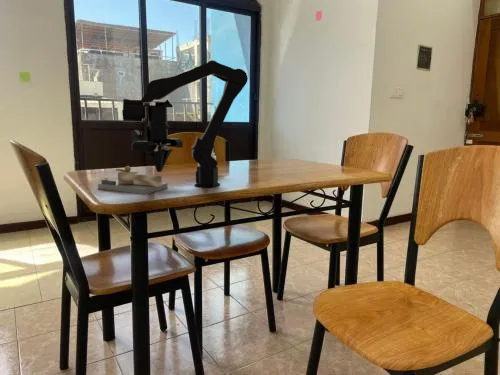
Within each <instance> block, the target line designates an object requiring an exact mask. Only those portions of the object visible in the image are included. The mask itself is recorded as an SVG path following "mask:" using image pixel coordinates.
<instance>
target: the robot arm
mask: <svg viewBox="0 0 500 375" xmlns="http://www.w3.org/2000/svg"><path fill="white" fill-rule="evenodd" d="M210 76H213V77H215V78H217V79H219V80H220V81H222V82H225V83H224V87H223V91H222V95H221V97H220V100H219V101H218V104H217V106H216V108H215V110H214V112H213V114H212V116H211V118H210V120H209V123H208V125H207V126H206V128H205V131H204V132H203V134H202V136H201V137H198V136H196V137H195V140H194V143H193V144H192V146H191V147H190V148H191V149H192V150H191V155H192V158H193V160H194V162H196V163H197V162H198V163H199V165H200V166H198V167H197V166H196V170H195V184H194V185H193V186H195V187H203V188H214V187H217V186H219V185H221V182H219V167H218V163H219V162H218V161H217V159H216V160H215V159H214V158H213V157H212V156H211V154H212V151H213V147H214V146H215V141H216V137H217V136H218V134H219V132H220V129H221V127H222V125H223V124H224V122H225V119H226V117H227V115H228V114H229V110H230V109H231V106H232V104H233V103H234V101H235V99H236V98H237V97H238V95H239V94H240V93H241V92H242V90H243V89H244V87H245V86H246V85H247V82H248V81H249V80H248V79H249V78H248V77H249V76H248V75H247V72H246V71H245V70H244V69H241V68H236V69H235V68H233V67H230V66H228V65H224V64H222V63H220V62H217V61H216V60H209V61H208V62H205V63H203V64H201V65H199V66H195V67H193V68H191V69H189V70H186V71H184V72H181V73H179V74H176V75H173V76H169V77H163V78H158V79H153V80H151V81H150V82H149V83H147V86H146V92H145V94H144V95H143V96H142V98H141V99H127V98H123V99H122V102H123V103H122V110H121V114H122V120H123V122H124V123H125V122H126V123H139V122H140V123H143V121H144V119H145V120H146V119H147V118H148V124H146V125H145V127H144V130H143V131H139V130H138V129H133V130H131V131H130V141H131V142H132V143H131V151H132V152H144V153H148V155H150V156H151V159H152V161H153V164H154V167H155V168H156V172H158V173H162V172H163V169H164V167H165V165H166V162H167V160H168V158H169V156H170V155H171V152H173V149H171V148H170V147H173V148H177V149H179V148H183V147H184V146H183V145H184V144H183V142H184V141H183V140H182V139H181V138H169V136H168V135H169V134H168V130H171V125H168V108H173V107H174V105H173V104H172V103H171V102H170V101H169V99H166V100H165V101H161V100H163V99H165V98H166V97H168V96H169V95H171V94H172V93H174V92H175V91H177V90H179V89H180V88H182V87H185V86H187V85H189V84H192V83H195V82H197V81H200V80H202V79H204V78H207V77H210ZM155 100H156V101H155ZM153 101H155V104H154V105H150V104H151V103H152V102H153ZM145 104H146V105H145ZM147 115H148V116H147Z"/></svg>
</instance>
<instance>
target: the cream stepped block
mask: <svg viewBox="0 0 500 375" xmlns="http://www.w3.org/2000/svg"><path fill="white" fill-rule="evenodd" d="M115 171H116V172H117V180H118V184H138V185H147V186H156V187H159V186H162V183H163V182H162V175H158V174H157V175H156V174H146V173H139V171H138V170H135V169H132V168H131V167H130V166H129V165H126V166H125V167H124V168H116V169H115Z"/></svg>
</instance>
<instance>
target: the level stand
mask: <svg viewBox="0 0 500 375" xmlns="http://www.w3.org/2000/svg"><path fill="white" fill-rule="evenodd" d="M100 180H101V182H99V183H98V184H97V188H98V190H99V189H100V190H109V191H117V192H125V193H132V194H140V195H142V194H143V195H146V194H151V193H153V192H158V191H160V190H165V188H166V189H168V187H169V186H168V183H167V182H162V186H159V187H156V186H147V185H138V184H118V179H113V180H111V179H109V177H108V176H106V175H105V176H104V177H103V179H100Z"/></svg>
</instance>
